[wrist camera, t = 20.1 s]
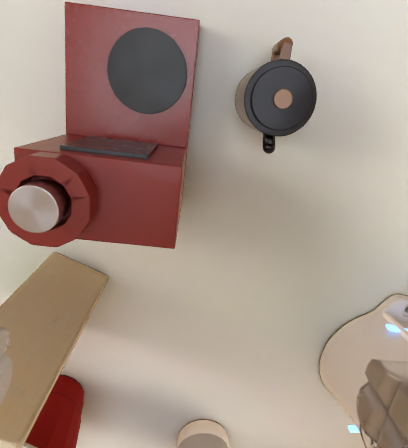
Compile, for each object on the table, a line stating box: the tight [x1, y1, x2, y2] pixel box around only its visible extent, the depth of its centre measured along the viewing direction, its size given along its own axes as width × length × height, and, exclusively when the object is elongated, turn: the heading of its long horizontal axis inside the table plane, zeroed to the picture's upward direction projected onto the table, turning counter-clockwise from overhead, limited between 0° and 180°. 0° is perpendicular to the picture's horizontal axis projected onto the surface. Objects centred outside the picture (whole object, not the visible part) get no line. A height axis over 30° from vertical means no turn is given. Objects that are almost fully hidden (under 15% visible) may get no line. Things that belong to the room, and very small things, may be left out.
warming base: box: [60, 2, 200, 159], centre depth 28 cm, size 11×10×11 cm
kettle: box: [235, 37, 317, 154], centre depth 30 cm, size 6×9×8 cm, turn 174°
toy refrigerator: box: [0, 252, 108, 448], centre depth 30 cm, size 8×7×21 cm
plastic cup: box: [22, 375, 83, 448], centre depth 39 cm, size 11×11×12 cm
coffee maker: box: [0, 134, 187, 249], centre depth 29 cm, size 12×6×14 cm, turn 83°
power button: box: [8, 179, 69, 233], centre depth 22 cm, size 3×3×2 cm
